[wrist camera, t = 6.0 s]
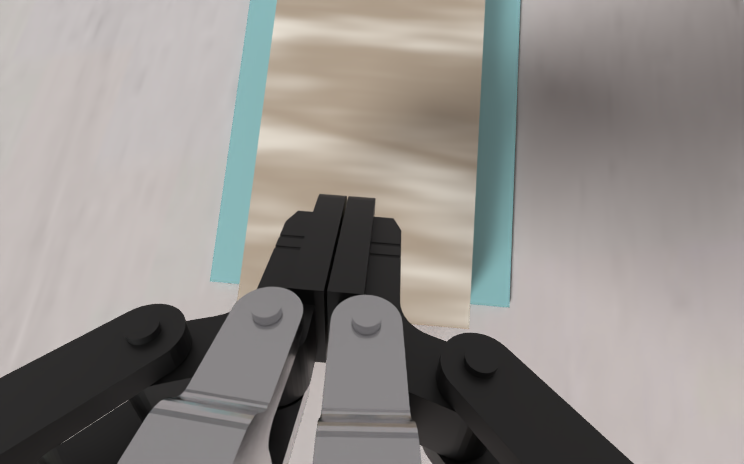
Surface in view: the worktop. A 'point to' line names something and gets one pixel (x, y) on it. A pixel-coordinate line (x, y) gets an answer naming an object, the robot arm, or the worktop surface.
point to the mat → (491, 161)
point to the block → (376, 135)
